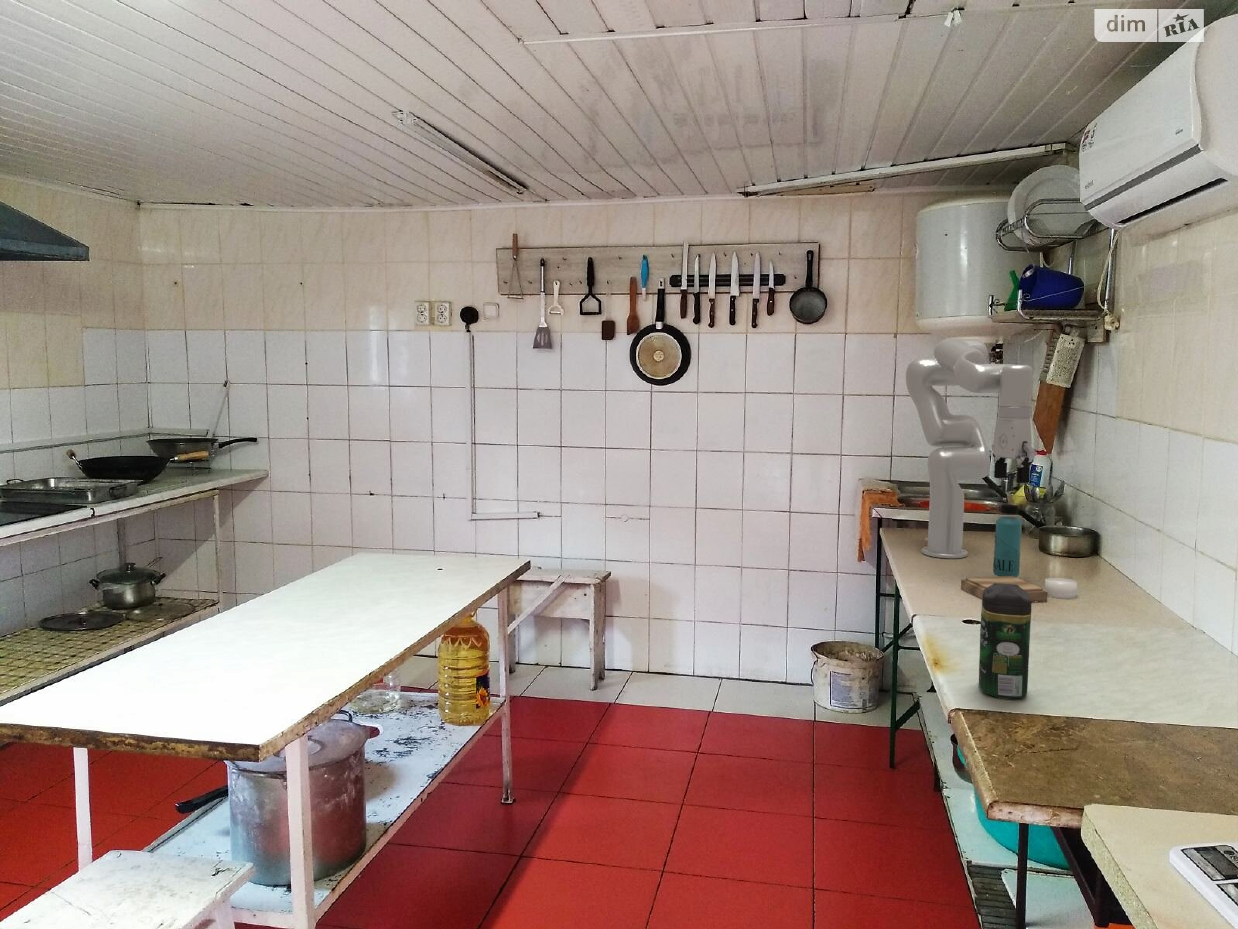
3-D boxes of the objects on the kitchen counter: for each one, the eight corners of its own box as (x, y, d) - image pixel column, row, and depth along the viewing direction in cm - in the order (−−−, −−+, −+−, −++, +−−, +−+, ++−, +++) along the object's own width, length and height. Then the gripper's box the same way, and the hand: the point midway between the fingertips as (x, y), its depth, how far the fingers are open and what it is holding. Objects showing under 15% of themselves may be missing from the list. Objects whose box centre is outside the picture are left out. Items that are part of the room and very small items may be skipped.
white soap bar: (1038, 592, 219) (1039, 578, 218) (1064, 591, 220) (1064, 577, 220) (1056, 600, 212) (1057, 585, 212) (1082, 598, 213) (1083, 584, 213)
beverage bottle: (1014, 577, 233) (1018, 502, 230) (1023, 584, 226) (1027, 507, 224) (988, 577, 234) (992, 502, 231) (996, 583, 227) (1000, 506, 225)
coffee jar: (976, 678, 160) (981, 578, 158) (1024, 683, 158) (1029, 582, 155) (978, 697, 151) (984, 591, 149) (1029, 703, 149) (1035, 596, 146)
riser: (960, 588, 222) (961, 577, 221) (1012, 586, 224) (1012, 575, 223) (992, 604, 208) (993, 591, 208) (1047, 601, 210) (1047, 589, 210)
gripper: (981, 412, 233) (979, 476, 235) (1021, 415, 216) (1017, 485, 218) (1008, 411, 234) (1005, 475, 236) (1049, 415, 217) (1045, 484, 219)
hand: (1011, 480), depth 227 cm, fingers open, 9 cm apart
